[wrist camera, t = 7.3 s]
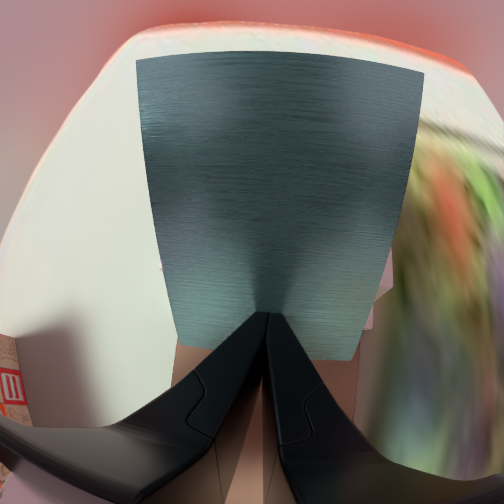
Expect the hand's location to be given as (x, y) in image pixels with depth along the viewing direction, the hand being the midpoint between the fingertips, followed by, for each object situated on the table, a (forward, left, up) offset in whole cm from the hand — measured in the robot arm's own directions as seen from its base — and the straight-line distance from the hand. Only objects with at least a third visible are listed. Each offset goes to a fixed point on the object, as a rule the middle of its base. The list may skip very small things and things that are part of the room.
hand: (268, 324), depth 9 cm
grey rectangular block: (+1, -1, -3) cm, 3 cm away
